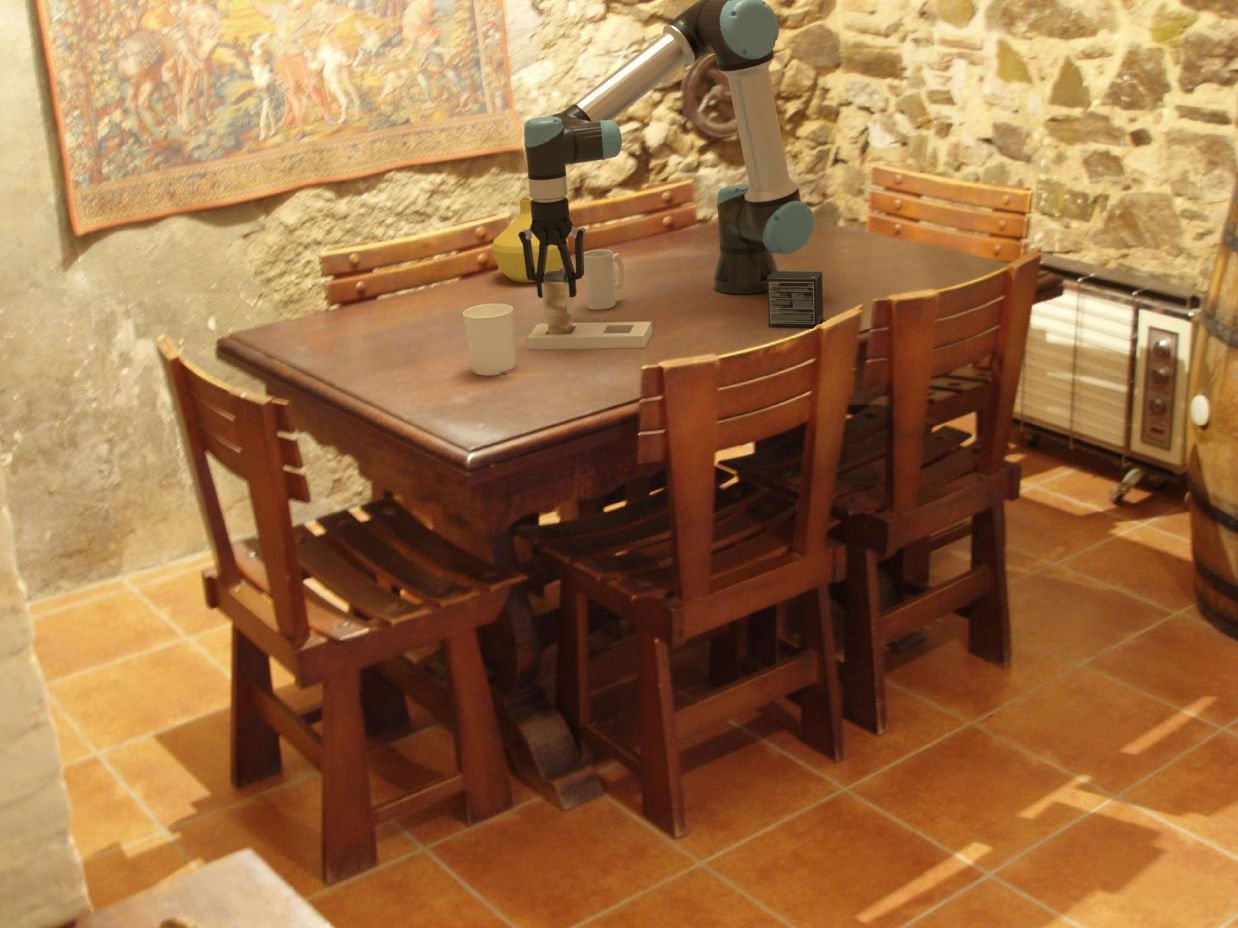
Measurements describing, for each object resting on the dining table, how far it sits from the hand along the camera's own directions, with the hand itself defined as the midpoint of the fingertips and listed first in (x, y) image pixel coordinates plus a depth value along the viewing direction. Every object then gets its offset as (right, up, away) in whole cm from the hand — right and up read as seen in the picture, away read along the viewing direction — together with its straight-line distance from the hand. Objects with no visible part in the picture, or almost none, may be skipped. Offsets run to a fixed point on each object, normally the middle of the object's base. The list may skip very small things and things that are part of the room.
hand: (558, 312), depth 290 cm
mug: (+10, +5, +28) cm, 30 cm away
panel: (+6, -6, +1) cm, 9 cm away
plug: (0, -4, +2) cm, 4 cm away
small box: (+49, -2, +5) cm, 49 cm away
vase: (-8, +14, +55) cm, 58 cm away
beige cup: (-12, -12, -10) cm, 20 cm away
